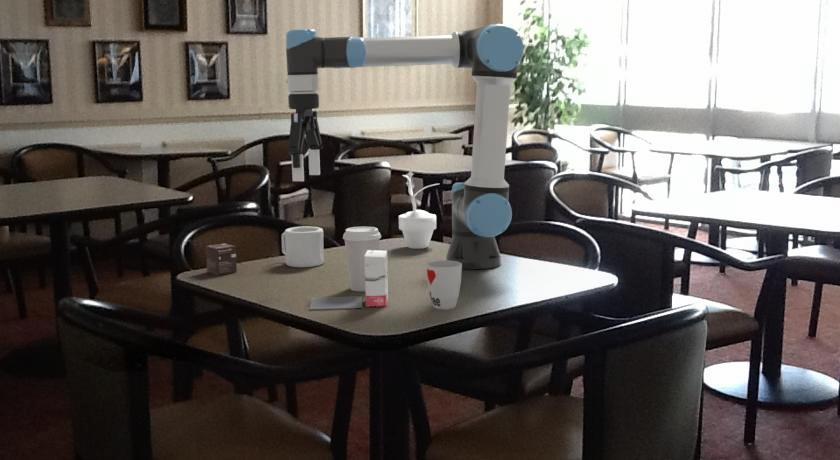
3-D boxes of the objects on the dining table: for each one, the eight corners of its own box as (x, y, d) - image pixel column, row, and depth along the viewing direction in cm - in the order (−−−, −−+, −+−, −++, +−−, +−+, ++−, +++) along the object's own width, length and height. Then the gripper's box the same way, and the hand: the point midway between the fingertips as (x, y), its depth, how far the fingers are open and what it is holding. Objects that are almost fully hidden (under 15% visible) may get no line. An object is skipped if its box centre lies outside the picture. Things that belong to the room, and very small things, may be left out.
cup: (425, 303, 225) (424, 260, 223) (459, 301, 225) (459, 259, 224) (428, 311, 217) (428, 268, 215) (464, 310, 217) (464, 266, 216)
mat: (361, 297, 231) (361, 296, 231) (362, 308, 220) (362, 307, 220) (311, 298, 230) (311, 297, 230) (309, 310, 219) (309, 309, 219)
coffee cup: (353, 294, 234) (351, 233, 232) (338, 287, 242) (336, 228, 240) (388, 290, 238) (387, 230, 236) (372, 282, 247) (371, 224, 244)
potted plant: (395, 250, 290) (394, 167, 286) (402, 243, 302) (401, 163, 297) (437, 251, 288) (436, 167, 284) (442, 244, 299) (441, 163, 295)
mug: (331, 262, 274) (330, 227, 272) (307, 269, 265) (306, 233, 263) (294, 258, 281) (293, 224, 279) (270, 264, 272) (268, 229, 270)
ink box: (386, 307, 222) (385, 256, 220) (364, 307, 222) (363, 256, 220) (388, 298, 230) (387, 249, 228) (368, 298, 230) (367, 249, 228)
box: (217, 275, 258) (216, 248, 257) (206, 272, 263) (205, 245, 261) (237, 272, 262) (236, 245, 261) (226, 269, 267) (224, 243, 265)
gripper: (304, 91, 252) (307, 172, 256) (271, 94, 228) (276, 183, 232) (331, 91, 251) (334, 172, 254) (302, 94, 227) (305, 183, 230)
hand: (306, 178), depth 243 cm, fingers open, 13 cm apart
